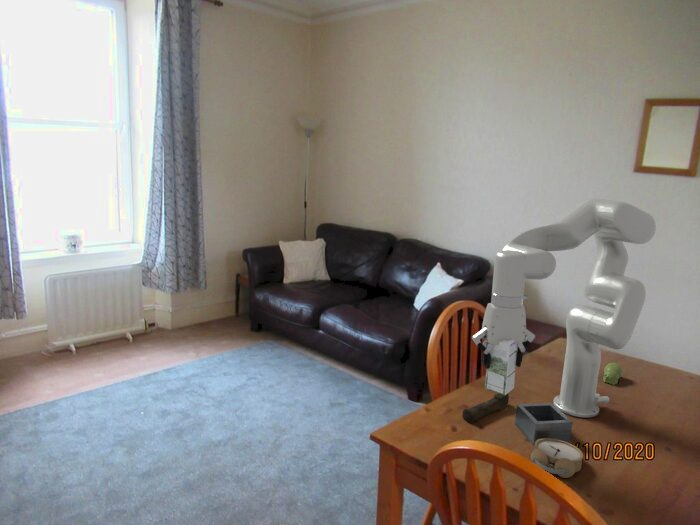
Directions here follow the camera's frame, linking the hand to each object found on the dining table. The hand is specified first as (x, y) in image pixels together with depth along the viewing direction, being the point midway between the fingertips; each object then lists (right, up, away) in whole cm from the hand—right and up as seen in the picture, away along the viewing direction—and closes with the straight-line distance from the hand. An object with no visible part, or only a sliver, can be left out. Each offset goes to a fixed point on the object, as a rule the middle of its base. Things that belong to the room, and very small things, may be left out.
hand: (501, 365), depth 133 cm
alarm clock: (+11, -24, -6) cm, 27 cm away
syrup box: (0, -7, +2) cm, 7 cm away
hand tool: (+1, -18, +19) cm, 26 cm away
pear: (+50, -14, +44) cm, 68 cm away
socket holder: (+13, -20, +8) cm, 25 cm away
